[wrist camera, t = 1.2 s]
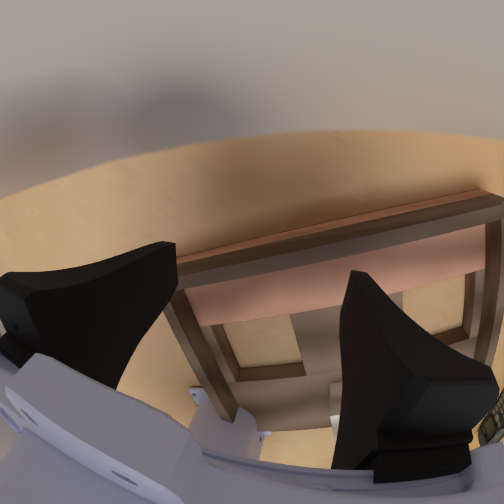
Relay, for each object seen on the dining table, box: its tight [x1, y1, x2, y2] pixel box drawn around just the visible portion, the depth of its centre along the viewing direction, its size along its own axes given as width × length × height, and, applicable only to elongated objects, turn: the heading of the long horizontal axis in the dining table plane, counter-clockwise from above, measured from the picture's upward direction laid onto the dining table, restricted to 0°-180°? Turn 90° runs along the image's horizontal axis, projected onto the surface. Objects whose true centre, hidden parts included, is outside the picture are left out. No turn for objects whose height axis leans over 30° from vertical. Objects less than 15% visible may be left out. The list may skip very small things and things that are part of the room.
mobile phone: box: [478, 390, 504, 447], centre depth 22 cm, size 5×3×15 cm
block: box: [330, 382, 342, 443], centre depth 22 cm, size 5×5×4 cm
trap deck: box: [163, 189, 504, 432], centre depth 22 cm, size 22×27×5 cm
